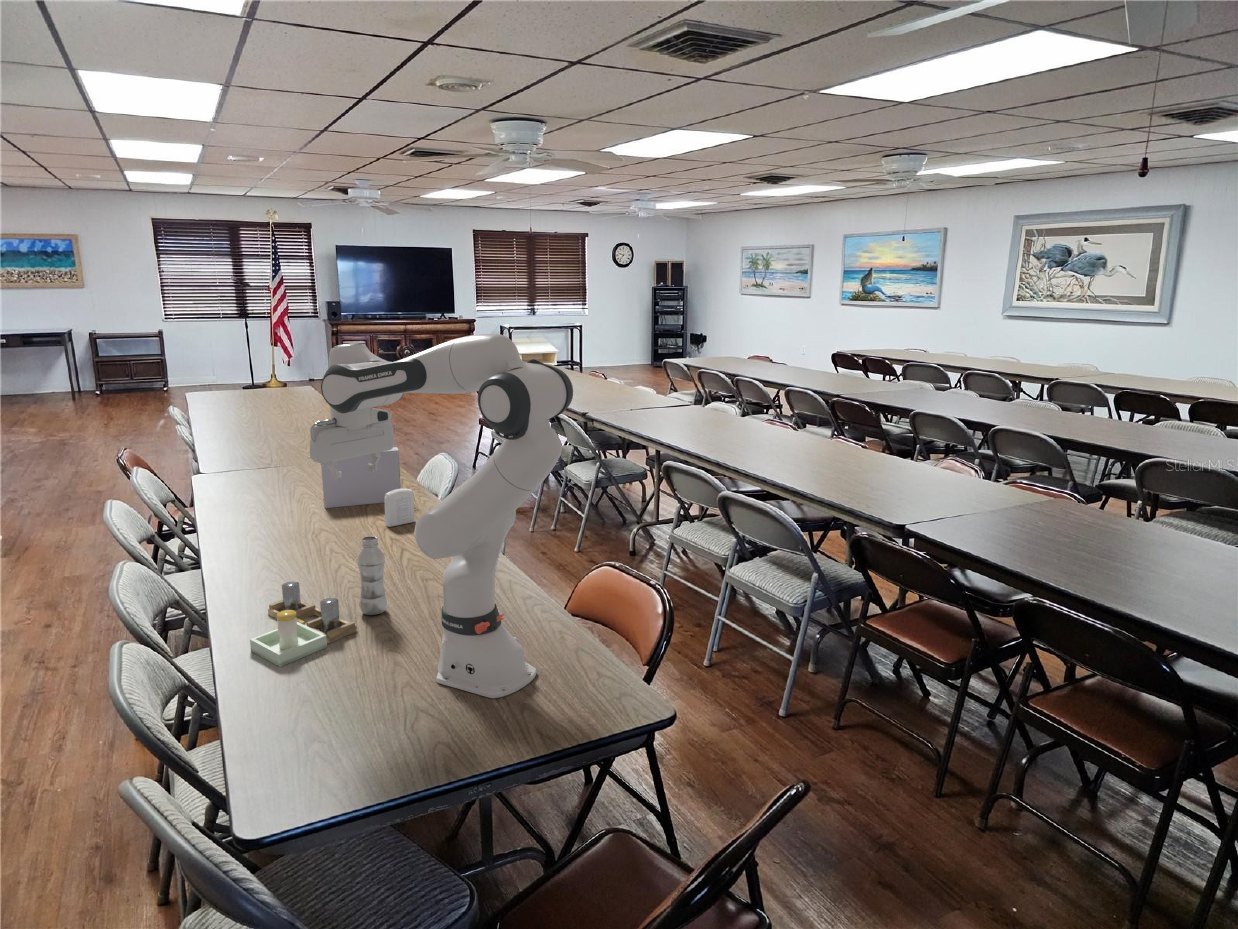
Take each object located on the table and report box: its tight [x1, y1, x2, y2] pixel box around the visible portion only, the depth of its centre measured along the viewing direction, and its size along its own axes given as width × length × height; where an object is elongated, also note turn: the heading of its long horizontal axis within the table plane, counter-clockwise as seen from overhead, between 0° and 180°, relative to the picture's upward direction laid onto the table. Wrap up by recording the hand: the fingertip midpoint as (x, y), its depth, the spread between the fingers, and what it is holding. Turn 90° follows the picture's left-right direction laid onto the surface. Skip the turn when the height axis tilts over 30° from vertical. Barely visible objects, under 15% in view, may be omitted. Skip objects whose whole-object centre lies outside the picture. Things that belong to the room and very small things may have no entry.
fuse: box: [276, 610, 299, 650], centre depth 172 cm, size 4×4×8 cm
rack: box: [267, 599, 358, 644], centre depth 186 cm, size 25×8×2 cm, turn 55°
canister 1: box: [281, 581, 302, 611], centre depth 190 cm, size 4×4×8 cm
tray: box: [249, 622, 328, 668], centre depth 173 cm, size 12×12×3 cm
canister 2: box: [319, 597, 340, 634], centre depth 181 cm, size 4×4×8 cm
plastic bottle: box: [356, 535, 388, 616], centre depth 190 cm, size 6×7×20 cm
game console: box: [320, 446, 402, 509], centre depth 281 cm, size 6×27×20 cm, turn 115°
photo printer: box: [384, 487, 416, 528], centre depth 259 cm, size 10×4×12 cm, turn 134°
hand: (355, 475), depth 173 cm, fingers open, 8 cm apart
